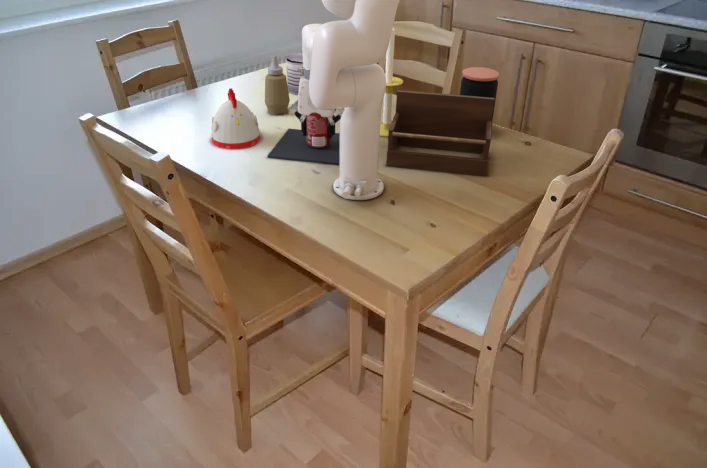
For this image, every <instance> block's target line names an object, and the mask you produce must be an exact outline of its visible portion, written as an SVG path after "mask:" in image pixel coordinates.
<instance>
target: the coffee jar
mask: <svg viewBox="0 0 707 468" xmlns="http://www.w3.org/2000/svg"><path fill="white" fill-rule="evenodd" d="M461 75H462V77H461V80H460V89H459V95H464V96H476V97H489V98H494V106H493V112H492V119H491V128H493V127H492V126H493V122H494V121H493V120H494V114H495V113H494V112H495V107H496V100H497V93H498V86H499V80H498V79H499V78H500V73H499V71H498V70H496V69H493V68H489V67H484V66H483V67H481V66H473V67H467V68H464V69H463V70H462V72H461Z"/></svg>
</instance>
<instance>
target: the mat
mask: <svg viewBox="0 0 707 468" xmlns="http://www.w3.org/2000/svg"><path fill="white" fill-rule="evenodd" d="M267 158H268V159H277V160H287V161H295V162H305V163H316V164H324V165H334V166H340V132H335V135H333V137H332V138H331V139H330V145H329V146H327V147H325V148H321V149H316V148H312V147H310V146H309V145H307V135H306V136H303V132H302V131H301V129H299V128H298V129H297V128H288V129H287V130H286V131H285V133H284V134H283V135H282V136H281V138H280V139H279V140H278V142H277V143H276V144H275V146H274V147H273V148H272V149H271V151H270V152H269V153H268V154H267Z"/></svg>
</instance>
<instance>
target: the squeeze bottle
mask: <svg viewBox="0 0 707 468" xmlns="http://www.w3.org/2000/svg"><path fill="white" fill-rule="evenodd" d="M264 80H265V81H264V82H265V83H264V103H265V104H264V105H265V106H266V109H267V111H268V113H269V114H270V115H284V114H286V113H287V112H288V108H289V105H290V100H291V99H290V92H289V91H288V86H287V74H285V73H284V68H283V66H280V64H279V61H278V57H277V55H273V56H272V59H271V66H268V67H267V74H266V75H265V79H264Z"/></svg>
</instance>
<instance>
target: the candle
mask: <svg viewBox="0 0 707 468" xmlns="http://www.w3.org/2000/svg"><path fill="white" fill-rule="evenodd" d="M395 36H396V29H395V27H394V26H393V29H392V33H391V37H390V42H389V46H388V49H387V53H386V55H385V76H386V89H385V94H384V98H383V105H382V109H383V111H382V123H381V122H380V135H379V137H385V138H386V137H387V138H388V133H389V128H390V125H391V123H392V111H393V92H394V91H393V90H394V88H395V87H399V86H402V85H403V84H404V80H403V79H402V78H400V77H398V76H394V56H395V39H396V37H395Z"/></svg>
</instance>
